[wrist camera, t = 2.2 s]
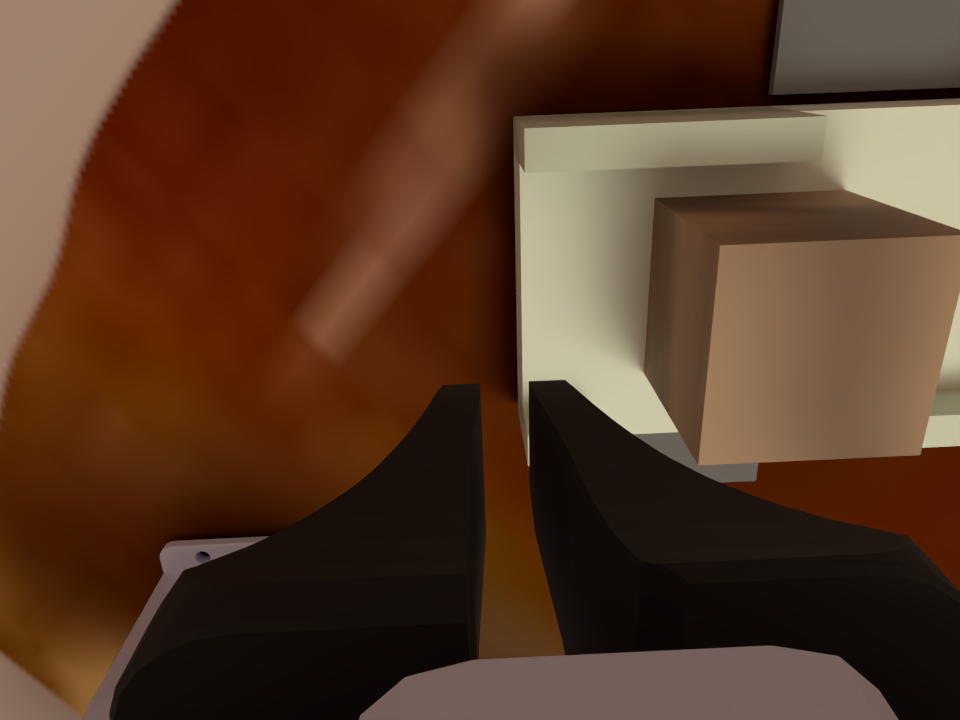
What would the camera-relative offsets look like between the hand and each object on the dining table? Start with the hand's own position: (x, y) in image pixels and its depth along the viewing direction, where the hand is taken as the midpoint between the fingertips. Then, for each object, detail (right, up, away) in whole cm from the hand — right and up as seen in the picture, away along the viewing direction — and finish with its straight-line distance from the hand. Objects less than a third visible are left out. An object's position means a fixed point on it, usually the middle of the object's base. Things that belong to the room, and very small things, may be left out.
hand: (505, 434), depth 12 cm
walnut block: (+7, +3, +7) cm, 10 cm away
